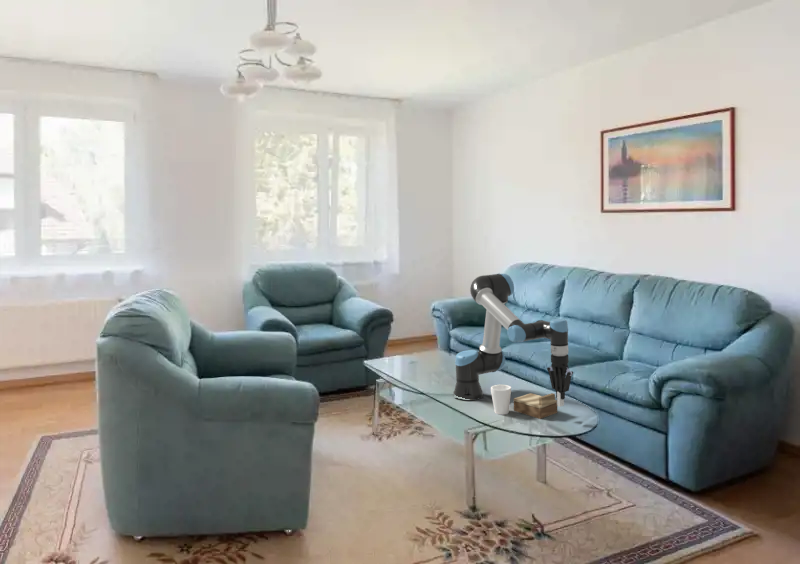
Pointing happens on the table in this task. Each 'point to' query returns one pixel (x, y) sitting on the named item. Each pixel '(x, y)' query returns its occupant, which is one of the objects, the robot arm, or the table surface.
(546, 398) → the lid
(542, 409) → the brown wooden box
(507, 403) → the foam cup
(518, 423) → the table surface
